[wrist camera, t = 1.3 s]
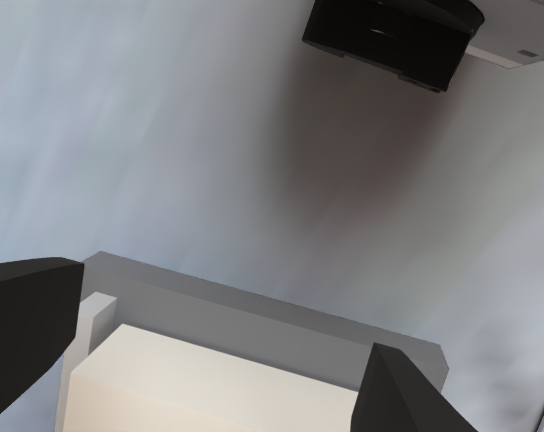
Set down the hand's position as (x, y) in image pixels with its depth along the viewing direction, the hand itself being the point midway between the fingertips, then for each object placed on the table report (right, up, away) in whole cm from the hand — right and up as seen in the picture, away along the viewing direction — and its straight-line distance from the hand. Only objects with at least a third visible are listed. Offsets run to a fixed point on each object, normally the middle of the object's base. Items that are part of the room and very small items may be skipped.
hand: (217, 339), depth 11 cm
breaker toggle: (0, -5, +9) cm, 10 cm away
